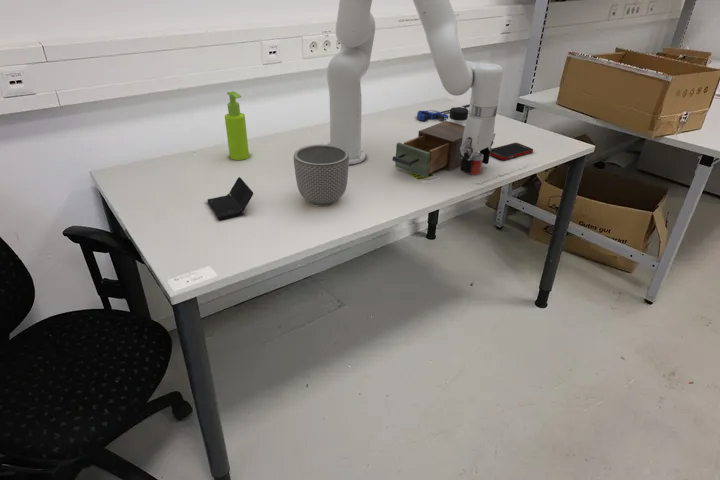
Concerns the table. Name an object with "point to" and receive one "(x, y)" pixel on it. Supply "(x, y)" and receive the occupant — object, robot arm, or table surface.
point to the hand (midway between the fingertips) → (474, 167)
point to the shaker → (476, 163)
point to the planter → (321, 173)
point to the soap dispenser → (236, 129)
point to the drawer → (422, 155)
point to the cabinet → (448, 140)
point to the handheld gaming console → (232, 201)
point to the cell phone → (510, 151)
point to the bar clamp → (433, 114)
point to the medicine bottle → (458, 115)
